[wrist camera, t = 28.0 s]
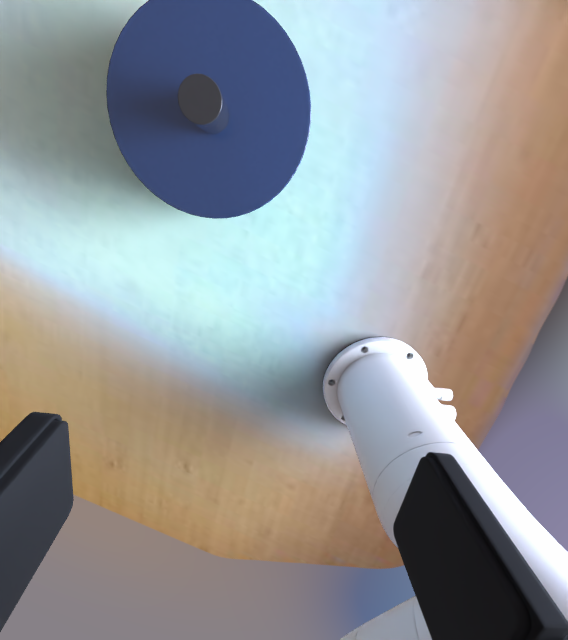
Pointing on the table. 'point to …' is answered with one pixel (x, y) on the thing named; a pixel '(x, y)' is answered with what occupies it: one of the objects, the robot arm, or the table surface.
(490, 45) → the table surface
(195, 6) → the pot lid
